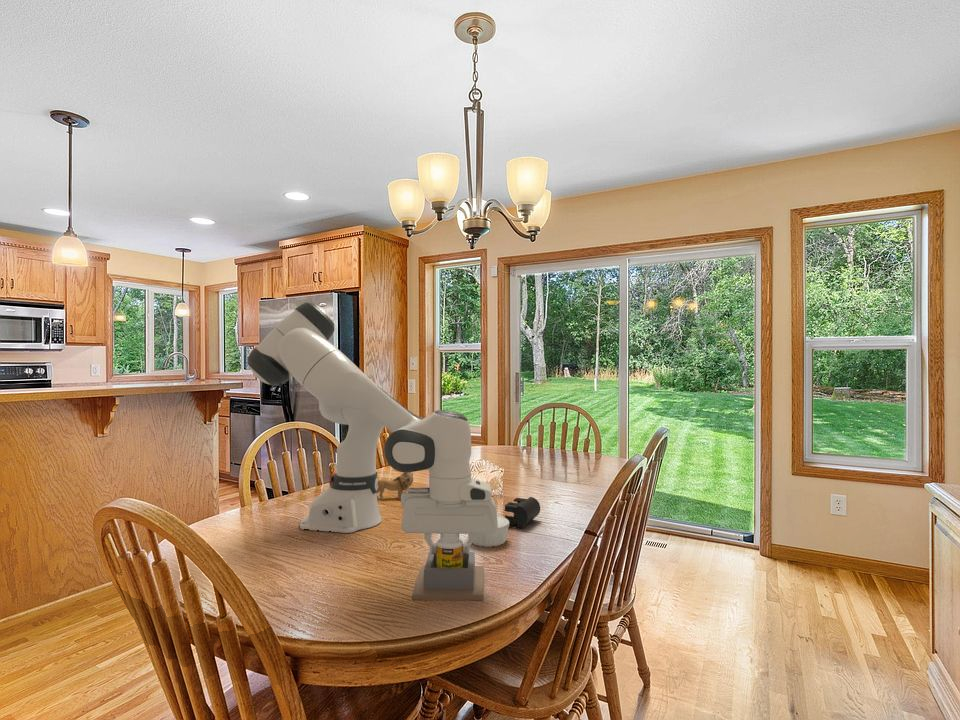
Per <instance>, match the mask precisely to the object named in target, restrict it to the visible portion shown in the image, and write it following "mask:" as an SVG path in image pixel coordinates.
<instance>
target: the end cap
mask: <svg viewBox="0 0 960 720" xmlns="http://www.w3.org/2000/svg"><path fill="white" fill-rule="evenodd" d="M504 512H507V513H513V516H512V515H504V518H506V519H508V520H509V526H510V527H509V528H512V527H516V528H515V529H518V528H519V529H521V528H523V527H524V526H526V525H527V524H529V523H530V522H531V521H533V520H534V519H535V518H536V517H538V516H539V515H540V512H541V504H540V502H539V501H538V500H537V498H535V497H534V496H530V497H528V498H523V497H516V498H514V499H513V502H509V501H508V502H507V503H506V504H505V505H504Z"/></svg>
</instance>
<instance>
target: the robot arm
mask: <svg viewBox="0 0 960 720" xmlns="http://www.w3.org/2000/svg"><path fill="white" fill-rule="evenodd" d="M333 321H334V320H333V319H332V317H331V315H330V314H329V313H328V311H327V310H325V308H323V307H322V306H319V305H317V304H315V303H313V302H304V303H302V304H300V305H298V306H296V307H295V309H294V311H293V312H291V313H290V314H288V315H287V316H285V317H284V318H282V320H280V322H278V323H277V324H276V325H275V326H274V328H273V329H272V330H271V331H269V333H268V334H267V335H266V336H265V337H264V338H263V339H262V341H261V342H259V344H258V345H257V347H254V348H253V349H252V350H251V352H250V353H249V355H248V357H247V365H248V367H249V369H250V371H251V373H252V374H253V375H254V377H255V378H256V379H258V380H259V381H260V382H261V383H264V384H267V385H269V386H272V387H277V386H281V385H283V384H285V383H287V382H288V381H289V380H290V378H291V377H293V378H294V380H295V381H297V382H298V384H300V386H302V388H304V389H305V390H306V391H307V392H309V394H311V395H312V396H313V397H314V398H316V400H317V401H318V409H319V413H320V415H321V416H322V417H323V418H324V419H325V420H328V421H330V422H332V423H334V424H338V425H348V430H347V433H346V437H345V438H344V440H343V441H341V442H339V444H338V446H337V447H336V471H334V472H333V473H332V474H331V476H330V477H329V478H328V484H329V486H330V487H328V488H327V489H326V490H325V491H323V492H322V493H321V494H319V495H318V496H317V497H316V498H315V499H314V500H313V501H312V502H311V504H310V507H309V510H308V514H307V515H306V516H304V518H302V519H301V521H300V524H299V528H300V529H301V530H304V529H309V530H308V531H317V530H319V531H321V532H329V531H331V532H333V533H342V534H343V533H344V534H347V533H348V534H349V533H354V532H357V531H360V530H364V529H369V528H372V527H376V526H377V525H379V524H381V522H382V516H381V512H380V508H379V502H378V498H377V496H378V494H377V490H378V480H379V479H378V472H377V447H378V442H379V439H380V435H381V433H382V431H383V430H384V428H386V429H387V430H388V431H390V432H391V433H390V434H389V435H388V436H387V438H386V440H385V442H384V446H383V453H384V458H385V460H386V462H387V464H388V465H389V467H391V469H393V470H395V471H397V472H400V473H404V472H411V473H414V472H421V471H425V470H427V471H428V472H429V475H428V477H429V479H428V480H429V483H428V484H429V485H428V487H409V488H408V489H407V490H403V493H402V494H401V500H400V505H401V507H402V508H403V509H402V517H401V530H402V531H403V533H405V534H423V535H424V540H425V541H426V544H427V545H428V546H429V552H430V554H437V542H436V543H435V542H434V541H433V539H432V536H433V534H459V535H461V534H463V535H468V537H467V538H468V540H467V542H466V543H463V554H470V552H471V546H472V544H473V541H474V539H475V534H495V532H496V531H497V530H498V520H497V516H498V512H497V505H496V501H495V499H494V497H493V496H492V495H493V489H492V485H491V484H490V483H489V482H487V481H484V480H481V479H477V478H473V477H472V469H471V466H470V459H471V455H472V435H471V434H472V433H471V426H470V421H469V420H468V418H467V417H466V416H465V415H464V414H463V413H460V412H456V411H453V410H448V409H447V410H444V409H438V410H435V411H433V412H432V413H430V415H428V416H425V417H421V416H420V415H419V416H418V415H416V414H415V413H414V412H412V411H410V409H408V408H406V407H405V406H403V404H401V403H400V402H399V401H398V400H396V399H395V398H394V397H393V396H392V395H391V394H390V393H389V392H386V391H385V390H384V389H382V387H380V386H379V385H377V384H376V383H375V382H374V381H373V380H372V379H371V378H370V377H369V376H367V375H366V374H365V373H364V372H363V371H362V370H361V369H360V368H359V367H358V366H357V365H356V364H355V363H354V362H353V361H352V360H351V359H350V358H348V357H347V355H346V354H344V353H343V352H342V351H341V350H340V349H338V347H336V346H335V345H334V344H332V343H331V341H330V339H331V337H332V336H333V334H334V333H335V323H334V322H333ZM319 531H318V532H319ZM331 532H330V533H331Z"/></svg>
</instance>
